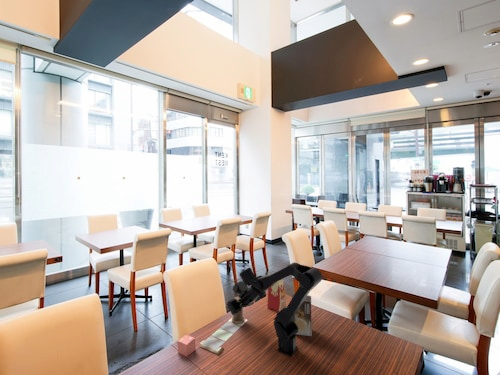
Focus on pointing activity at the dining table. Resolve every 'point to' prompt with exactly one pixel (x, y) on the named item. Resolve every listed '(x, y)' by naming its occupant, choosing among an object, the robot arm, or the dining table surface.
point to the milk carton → (277, 296)
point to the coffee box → (304, 317)
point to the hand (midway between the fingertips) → (235, 308)
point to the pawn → (238, 315)
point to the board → (220, 337)
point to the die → (186, 345)
